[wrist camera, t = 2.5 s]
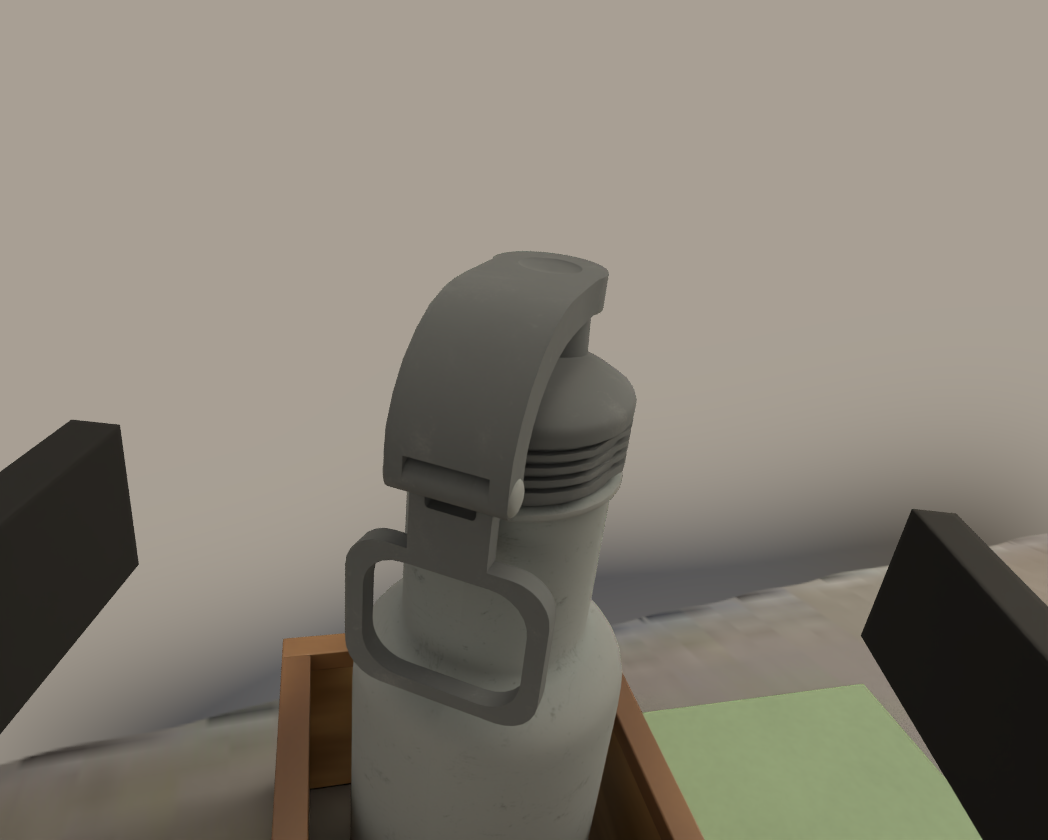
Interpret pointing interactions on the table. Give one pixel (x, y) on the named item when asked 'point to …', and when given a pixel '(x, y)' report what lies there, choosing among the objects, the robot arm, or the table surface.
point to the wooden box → (326, 752)
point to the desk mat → (806, 770)
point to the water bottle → (491, 567)
